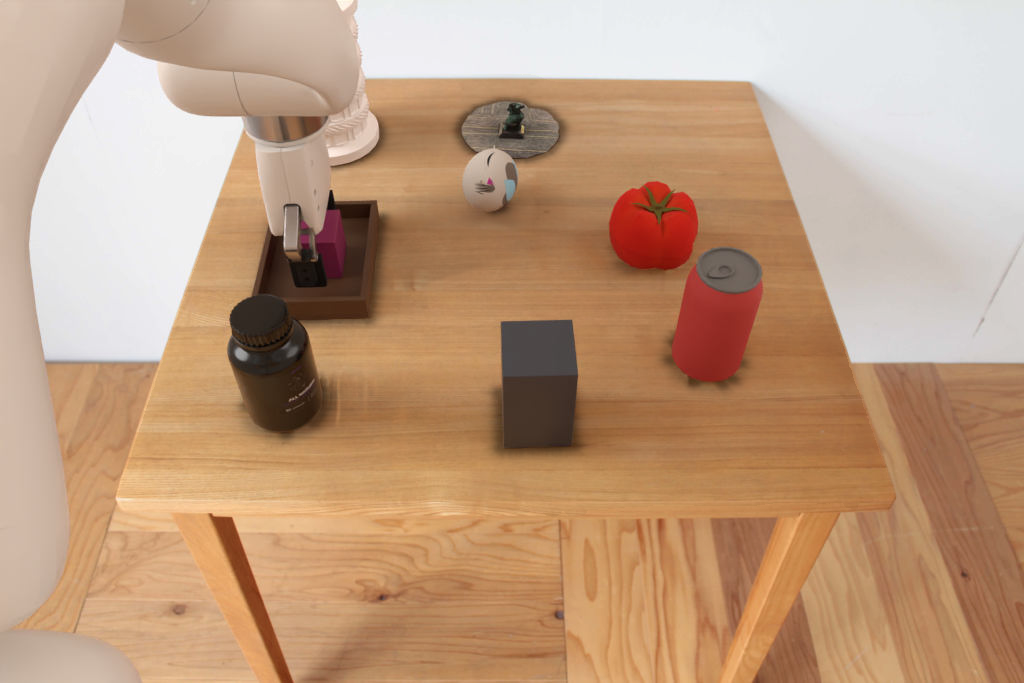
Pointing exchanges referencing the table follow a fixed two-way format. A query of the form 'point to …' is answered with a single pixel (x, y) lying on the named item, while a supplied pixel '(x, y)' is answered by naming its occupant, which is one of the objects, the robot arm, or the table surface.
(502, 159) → the figurine
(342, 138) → the white tower model
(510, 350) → the bottom block
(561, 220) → the table surface
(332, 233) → the top block
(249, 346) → the supplement bottle
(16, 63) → the robot arm
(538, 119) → the sculpture
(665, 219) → the tomato
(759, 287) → the beer can
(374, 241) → the tray
